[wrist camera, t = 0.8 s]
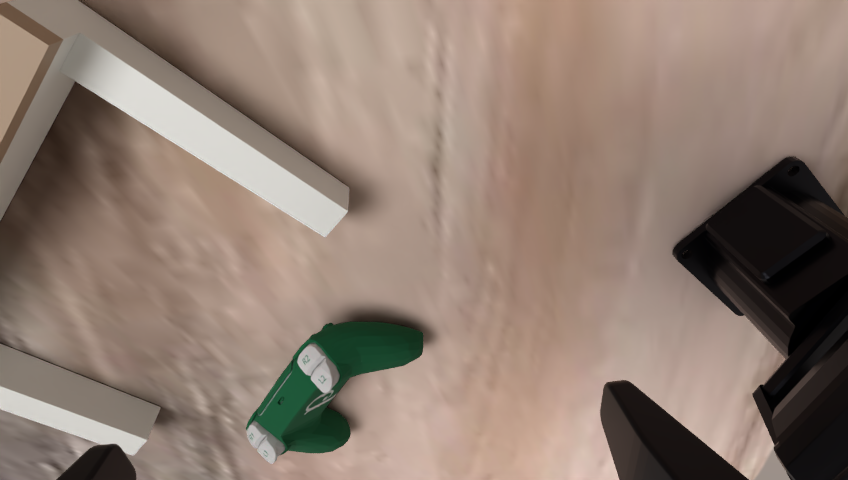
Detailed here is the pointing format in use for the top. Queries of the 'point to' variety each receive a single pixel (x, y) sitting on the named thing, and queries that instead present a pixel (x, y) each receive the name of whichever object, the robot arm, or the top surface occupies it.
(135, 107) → the frame
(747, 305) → the robot arm
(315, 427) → the gaming controller
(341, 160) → the top surface
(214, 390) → the top surface
